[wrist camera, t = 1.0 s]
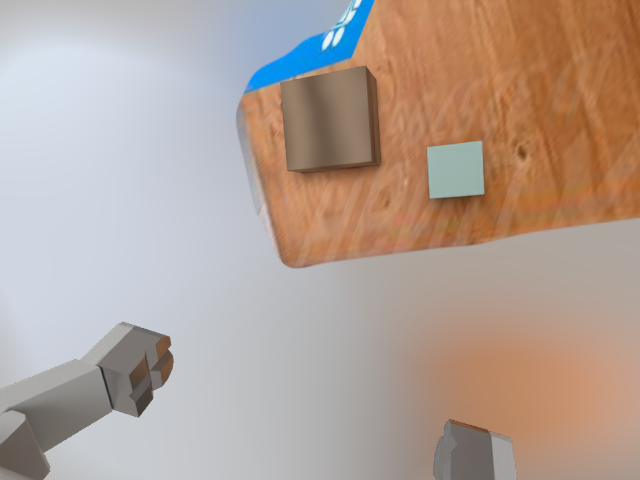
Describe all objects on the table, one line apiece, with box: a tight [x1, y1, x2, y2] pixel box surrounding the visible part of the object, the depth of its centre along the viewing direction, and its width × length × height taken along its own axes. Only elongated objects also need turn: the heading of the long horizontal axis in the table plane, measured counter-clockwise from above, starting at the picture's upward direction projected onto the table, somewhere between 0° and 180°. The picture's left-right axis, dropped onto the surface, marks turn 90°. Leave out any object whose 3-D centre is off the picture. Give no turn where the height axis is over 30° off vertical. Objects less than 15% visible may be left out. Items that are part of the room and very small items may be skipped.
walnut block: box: [280, 66, 381, 173], centre depth 47 cm, size 10×10×5 cm
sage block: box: [427, 141, 484, 198], centre depth 42 cm, size 5×5×7 cm
